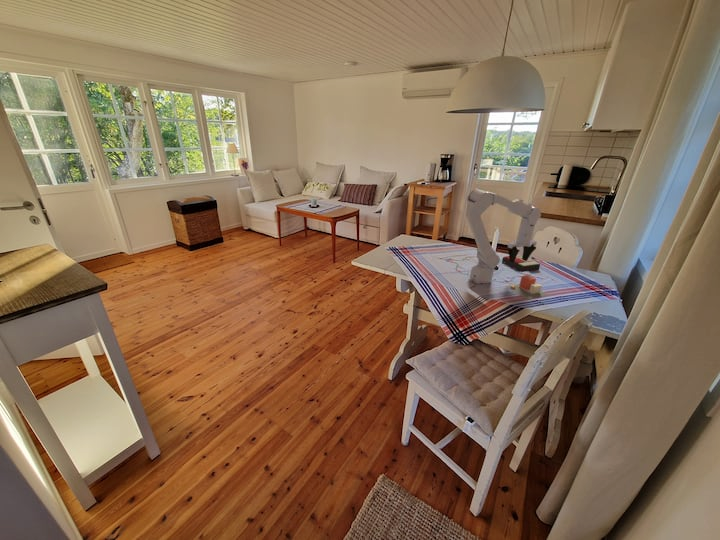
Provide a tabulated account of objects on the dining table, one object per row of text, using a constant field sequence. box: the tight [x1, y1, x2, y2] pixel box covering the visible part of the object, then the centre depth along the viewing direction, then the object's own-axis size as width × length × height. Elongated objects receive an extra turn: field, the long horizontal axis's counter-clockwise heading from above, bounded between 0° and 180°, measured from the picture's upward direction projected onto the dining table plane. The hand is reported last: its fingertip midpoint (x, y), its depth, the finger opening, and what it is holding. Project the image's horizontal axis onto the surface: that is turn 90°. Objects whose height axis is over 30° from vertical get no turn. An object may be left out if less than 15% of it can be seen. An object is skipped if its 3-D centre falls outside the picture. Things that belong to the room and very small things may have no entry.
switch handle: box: [529, 283, 543, 293], centre depth 126 cm, size 4×2×3 cm, turn 108°
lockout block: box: [519, 274, 537, 290], centre depth 130 cm, size 4×4×5 cm
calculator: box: [501, 254, 541, 273], centre depth 157 cm, size 11×4×15 cm
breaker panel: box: [505, 283, 550, 300], centre depth 128 cm, size 12×12×2 cm
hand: (518, 261), depth 136 cm, fingers open, 7 cm apart
